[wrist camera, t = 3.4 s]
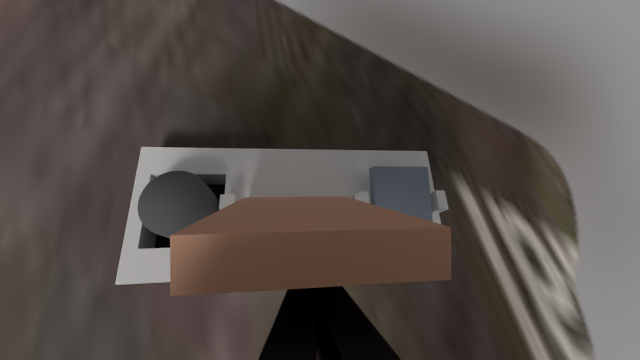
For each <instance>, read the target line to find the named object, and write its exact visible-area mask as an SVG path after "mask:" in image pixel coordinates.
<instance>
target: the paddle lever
mask: <svg viewBox="0 0 640 360" xmlns="http://www.w3.org/2000/svg"><path fill="white" fill-rule="evenodd" d="M439 280H451V227H448V226H445V225H441V224H438V223H435V222H431V221H428V220H424V219H421V218H418V217H414V216H411V215H407V214H404V213H400V212H397V211H394V210H390V209H387V208H383V207H380V206H377V205H373V204H370V203H366V202H363V201H359V200H356V199H353V198H349V197H346V196H319V197H244V198H242V199H240V200H238V201H236V202H234V203H232V204H230V205H228V206H227V207H225V208H223V209H221V210H219V211H217V212H215V213H213V214H211V215H209V216H207V217H205V218H203V219H201V220H199V221H197V222H195V223H193V224H191V225H189V226H187V227H185V228H183V229H181V230H179V231H178V232H176V233H174V234H172V235H170V296H180V295H197V294H214V293H231V292H249V291H266V290H283V289H301V288H318V287H335V286H353V285H370V284H387V283H405V282H422V281H439Z"/></svg>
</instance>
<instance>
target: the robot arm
mask: <svg viewBox="0 0 640 360" xmlns="http://www.w3.org/2000/svg"><path fill="white" fill-rule="evenodd" d="M258 360H400V358H399V356H398V355H397V354H396V353H395V351H394V350H393V349H392V348H391V346H390V345H389V344H388V343H387V341H386V340H385V339H384V338H383V336H382V335H381V334H380V333H379V331H378V330H377V329H376V328H375V326H374V325H373V324H372V323H371V321H370V320H369V319H368V318H367V316H366V315H365V314H364V313H363V311H362V310H361V309H360V308H359V306H358V305H357V304H356V303H355V301H354V300H353V299H352V298H351V296H350V295H349V294H348V293H347V291H346V290H345V289H344V288H343V286H335V287H318V288H301V289H287V291H286V293H285V296H284V298H283V301H282V303H281V305H280V308H279V310H278V313H277V315H276V318H275V320H274V322H273V325H272V327H271V330H270V332H269V335H268V337H267V339H266V342H265V344H264V347H263V349H262V352H261V354H260V356H259V359H258Z"/></svg>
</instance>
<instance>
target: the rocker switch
mask: <svg viewBox="0 0 640 360" xmlns="http://www.w3.org/2000/svg"><path fill="white" fill-rule="evenodd" d="M369 181H370V198H371V204H373V205H377V206H380V207H383V208H387V209H390V210H394V211H397V212H400V213H404V214H407V215H411V216H414V217H418V218H421V219H424V220H428V221H431V222H433V218H432V207H431V197H430V186H429V175H428V167H397V166H373V167H371V168H370V169H369Z"/></svg>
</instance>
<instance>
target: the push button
mask: <svg viewBox="0 0 640 360" xmlns="http://www.w3.org/2000/svg"><path fill="white" fill-rule="evenodd" d="M219 203H220V201H219V200H218V198H217V197H216V195H215V194H214V193H213V192H212V191H211V189H210V188H209V187H208V186H207V185H206V183H205V182H204V181H203V180H202V179H201V178H200V177H198V176H197V175H195V174H193V173H190V172H187V171H170V172H167V173H164V174H161V175H159V176H157V177H156V178H154V179H153V180H152V181H150V182H149V183H148V184H147V185H146V187H145V188H144V189H143V191H142V193H141V195H140V197H139V201H138V215H139V218H140V220H141V222H142V224H143V225H144V226H145V227H146V228H147V229H148V230H150V231H151V232H153V233H155V234H158V235H161V236H164V237H167V238H170V235H172V234H174V233H176V232H178V231H179V230H181V229H183V228H185V227H187V226H189V225H191V224H193V223H195V222H197V221H199V220H201V219H203V218H205V217H207V216H209V215H211V214H213V213H215V212H217V211H219V210H220V209H219Z"/></svg>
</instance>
